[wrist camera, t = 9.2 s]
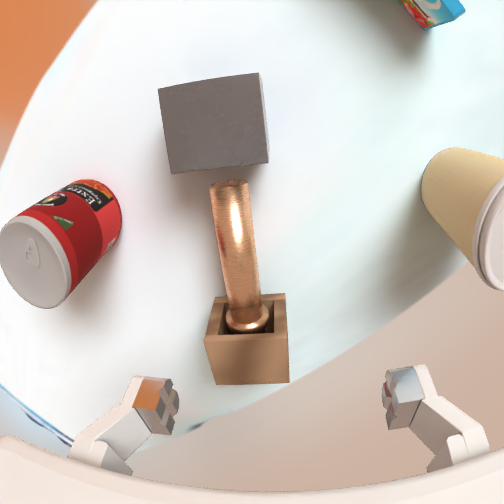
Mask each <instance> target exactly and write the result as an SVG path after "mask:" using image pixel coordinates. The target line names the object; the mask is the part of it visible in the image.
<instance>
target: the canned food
mask: <svg viewBox="0 0 504 504" xmlns="http://www.w3.org/2000/svg"><path fill="white" fill-rule="evenodd" d="M121 223H122V215H121V209H120V205H119V203H118V201H117V199H116V197H115V195H114V194H113V193H112V191H111V190H110V189H109V188H108V187H106V186H105V185H104V184H102V183H100V182H98V181H95V180H78V181H75V182H73V183H71V184H69V185H68V186H66V187H64V188H62V189H60V190H58V191H57V192H55V193H53V194H51V195H50V196H48V197H46V198H44V199H43V200H41V201H39V202H38V203H36V204H34V205H33V206H31V207H29V208H28V209H26V210H24V211H23V212H21V213H20V214H18V215H17V216H16V217H14V218H13V219H11V220H10V221H9V222H8V223H7V224H5V225H4V227H3V228H2V230H1V232H0V264H1V267H2V269H3V272H4V274H5V276H6V278H7V280H8V281H9V283H10V284H11V286H12V287H13V289H14V290H15V291H16V292H17V293H18V294H19V295H20V296H21V297H22V298H23V299H24V300H26V301H27V302H29V303H30V304H32V305H34V306H36V307H39V308H44V309H51V308H54V307H57V306H58V305H59V304H61V303H62V302H63V301H64V300H65V299H66V298H67V297H68V295H69V294H70V293H71V292H72V291H73V290H74V289H75V287H76V286H77V285H78V284H79V283H80V282H81V280H82V279H83V278H84V277H85V276H86V275H87V273H88V272H89V271H90V270H91V269H92V268H93V267H94V265H95V264H96V263H97V262H98V261H99V260H100V259H101V258H102V256H103V255H104V254H105V253H106V252H107V251H108V250H109V249H110V248H111V246H112V245H113V244H114V243H115V242H116V240H117V238H118V235H119V232H120V229H121Z"/></svg>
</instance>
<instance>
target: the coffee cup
mask: <svg viewBox="0 0 504 504" xmlns="http://www.w3.org/2000/svg"><path fill="white" fill-rule="evenodd" d="M421 193H422V199H423V202H424V205H425V207H426V209H427V211H428V212H429V213H430V214H431V216H432V217H433V218H434V219H435V221H436V222H437V223H438V224H439V225H440V226H441V228H442V229H443V230H444V231H445V232H446V233H447V235H448V236H449V237H450V238H451V239H452V241H453V242H454V243H455V244H456V245H457V247H458V248H459V249H460V250H461V251H462V253H463V254H464V255H465V256H466V258H467V259H468V260H469V261H470V263H471V264H472V265H473V266H474V267H475V269H476V271H477V273H478V275H479V276H480V278H481V279H482V280H483V282H485V283H486V284H487V285H488V286H490V287H491V288H493V289H497V290H501V291H504V159H501V158H498V157H494V156H491V155H487V154H483V153H480V152H476V151H472V150H468V149H463V148H455V147H454V148H448V149H445V150H442V151H440V152H439V153H438V154H436V155H435V156H434V157H433V158H432V159H431V161H430V162H429V163H428V165H427V167H426V169H425V171H424V174H423V178H422V184H421Z"/></svg>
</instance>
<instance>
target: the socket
mask: <svg viewBox="0 0 504 504" xmlns="http://www.w3.org/2000/svg"><path fill="white" fill-rule="evenodd" d="M261 299H262V304H263V305H265V306H266V307H267V309H268V313H269V323H268V325H267V326H266V327H265V333H263V334H240V335H234V332H232V331H231V330H230V329H229V328H228V326H227V322H226V313H227V311H228V310H229V304H228V298H227V297H215V300H214V304H213V308H212V312H211V316H210V319H209V323H208V327H207V331H206V335H205V339H204V344H205V348H206V351H207V355H208V358H209V362H210V365H211V369H212V372H213V376H214V379H215V382H216V385H245V384H276V383H289V355H288V332H287V316H286V300H285V293H282V294H266V295H261Z"/></svg>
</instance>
